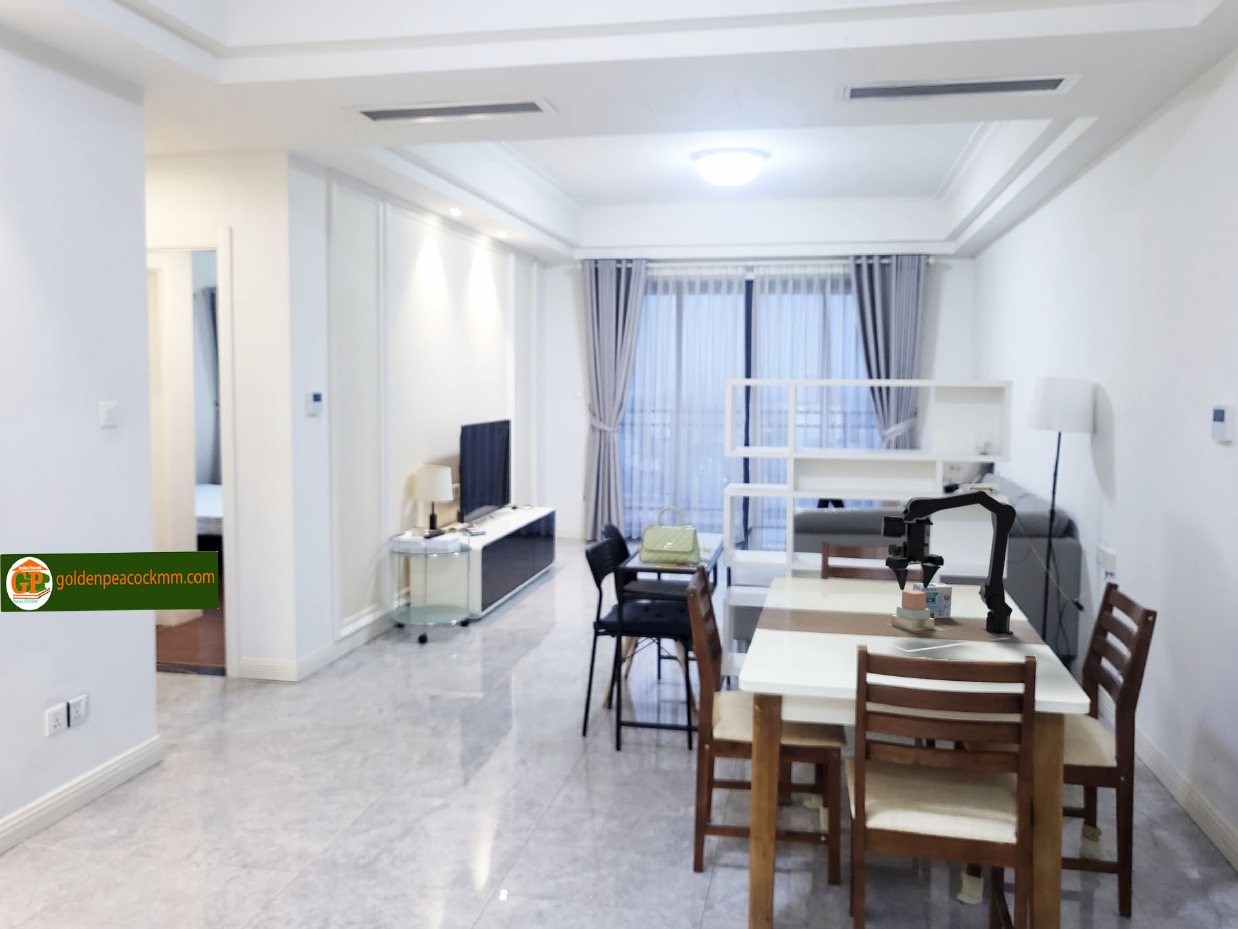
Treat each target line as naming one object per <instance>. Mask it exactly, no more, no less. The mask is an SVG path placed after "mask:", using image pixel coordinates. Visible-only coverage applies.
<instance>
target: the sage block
mask: <svg viewBox="0 0 1238 929" xmlns="http://www.w3.org/2000/svg"><path fill="white" fill-rule="evenodd" d="M895 615H897V616H900V617H903V618H906V619H909V620H921V619H929V618H930V609H927V608H926V609H922V610H910V609H907V608H903V607H902V605H898V606H897V605H896V613H895Z"/></svg>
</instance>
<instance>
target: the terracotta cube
mask: <svg viewBox="0 0 1238 929" xmlns="http://www.w3.org/2000/svg"><path fill="white" fill-rule="evenodd" d="M901 592H902V593H901V606H902V607H903V608H907V609H910V610H922V609H926V593H924V592H921V591H917V590H913V589H910V590H909V589H908V590H901Z"/></svg>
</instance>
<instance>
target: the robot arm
mask: <svg viewBox="0 0 1238 929" xmlns="http://www.w3.org/2000/svg"><path fill="white" fill-rule="evenodd" d="M973 505H980V506H982V507H983V508H985V509H986V510H987V511H989V512H990V516H991V525H992V530H993V531H992V542H991V550H990V556H989V564H988V573H987V578H986V579H985V581H983V580H981V581H980V582H979V583H980V587H979V588H980V589H979V591H978V595H979V596H980V600H981V601H982V602H983V604H984V605H985V606H986V608H987V610H989V611H987V612H986V613H987V616H986V620H985V623H986V624H985V628H982V631H986V632H989V633H992V634H996V635H1002V634H1004V635H1010V634H1014V631H1011V630H1010V624H1011V614H1012V613H1013V611H1014V610H1013V607H1012V608H1011V606H1010V605H1008V603H1007V602H1006V595H1005V594H1006V591H1005V585H1004V581H1003V579H1004V578H1003V577H1004V573H1005V572H1004V571H1005V564H1006V563H1005V562H1006V558H1007V548H1008V542H1009V541H1008V540H1009V539H1008V538H1009V535H1010V532H1011V530H1012V528H1013V526H1014V524H1015V521H1016V516H1017V511H1016V509H1015V508H1014V507H1013V506H1012V505H1010V504H1008V503H1006V502H1002V501H998V500H997V499H996V498H994V497H992V496H990V495H989V494H988V493H987V492H985V491H984V490H982V489H975V490H972V491H967V492H962V493H961V492H960V493H955V494H950V495H944V496H938V497H929V496H928V497H927V496H925V497H924V496H914V497H911V498H910V499H909V500H908V501H907V503H906V508H904V510H903V511H902V512H901V513H900V515H898V516H897V515H893V516H891V515H886V514H884V515H883V516H882V521H881V526H880V534H881V538H888V539H889V538H890V539H891V538H892V539H901V538H902V537H904V536H905V535H906V539H905V540H903V541H902V543H901V544H902V545H900V546H898V544H897V543H894V544H889V545H888V549H887V551H888V555H889V556H888V557H886V558H885V567H888V569H889V570H892V572H894V575H895V576H896V581H897V583H898V586H899V589H900V590H901V591H905V587H906V584H907V579H908V574H909V569H907V568H908V566H911V565H920V567H921V568H922V570H923V571H922V574H923V575H922V579H923V580H922V583H923V587H924V588H927V587H928V585H929V583H931V581H932V580H933V578H934V576H935V575H936V573H938V571H939V569H941V567H943V566H944V565H945V560H944V557H943V556H942V555H939V554H935V553H928V554H927V553H926V547H929V542H926V540H927V526H934V522H932V521H931V519H930V517H928V516H930V515H933V514H936V513H938V512H940V511H945V510H950V509H955V508H956V509H957V508H962V507H967V506H973Z"/></svg>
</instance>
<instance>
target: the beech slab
mask: <svg viewBox="0 0 1238 929" xmlns="http://www.w3.org/2000/svg"><path fill="white" fill-rule="evenodd" d="M935 619H936V618H929V619H921V620H909V619H906V618H903V617H900V616H897V615H896V614H891V620H890V621H891V622H890V623H891V625H894V626H897V627H900V628H903V629H906V630H909V631H918V630H926V629H934V622H936V621H935Z"/></svg>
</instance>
